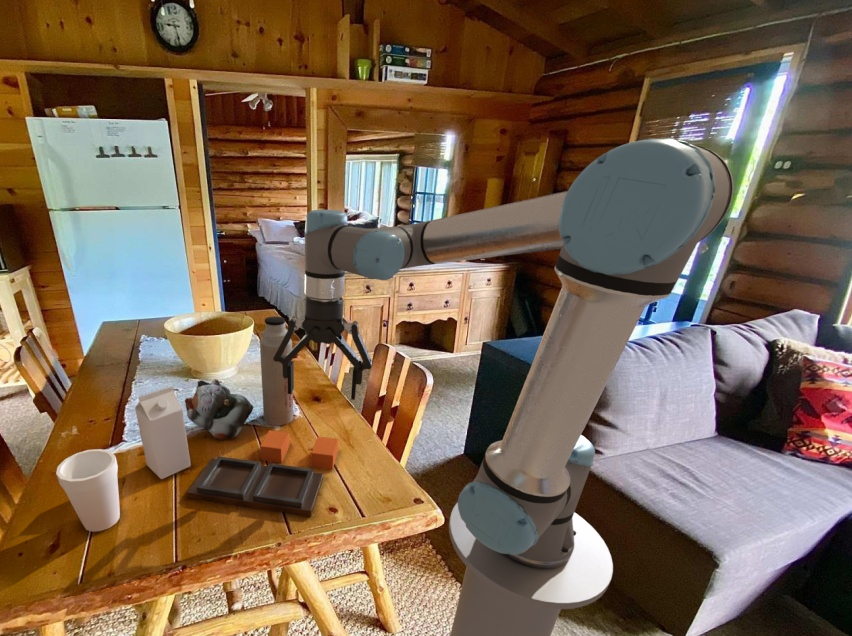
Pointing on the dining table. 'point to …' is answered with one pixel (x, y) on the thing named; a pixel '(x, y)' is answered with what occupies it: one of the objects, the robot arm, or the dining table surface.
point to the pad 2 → (324, 453)
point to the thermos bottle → (275, 374)
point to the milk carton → (163, 432)
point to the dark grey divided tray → (258, 485)
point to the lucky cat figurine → (218, 410)
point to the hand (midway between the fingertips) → (321, 394)
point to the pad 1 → (274, 446)
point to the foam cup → (92, 487)
